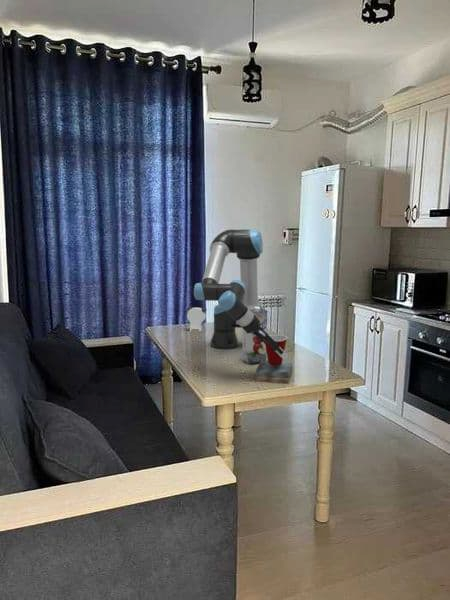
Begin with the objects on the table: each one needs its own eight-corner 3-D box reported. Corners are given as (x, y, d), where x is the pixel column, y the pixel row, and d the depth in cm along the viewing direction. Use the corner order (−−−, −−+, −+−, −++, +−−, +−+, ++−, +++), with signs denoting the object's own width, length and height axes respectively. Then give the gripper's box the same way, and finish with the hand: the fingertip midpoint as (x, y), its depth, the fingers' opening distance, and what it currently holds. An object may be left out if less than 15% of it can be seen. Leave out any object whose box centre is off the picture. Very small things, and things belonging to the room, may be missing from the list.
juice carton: (240, 360, 225) (241, 305, 220) (259, 358, 229) (260, 304, 225) (248, 365, 217) (249, 308, 212) (268, 362, 221) (269, 307, 216)
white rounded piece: (208, 329, 291) (208, 306, 289) (203, 333, 280) (203, 309, 278) (190, 328, 294) (189, 305, 291) (184, 332, 283) (184, 308, 280)
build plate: (254, 380, 195) (254, 371, 194) (262, 367, 214) (262, 358, 213) (288, 383, 191) (288, 374, 191) (292, 369, 211) (292, 361, 210)
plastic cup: (260, 360, 207) (260, 334, 205) (284, 360, 208) (284, 333, 206) (264, 367, 196) (264, 340, 194) (289, 367, 197) (290, 339, 195)
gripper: (233, 322, 205) (266, 354, 212) (250, 333, 184) (286, 368, 191) (245, 310, 206) (277, 342, 213) (263, 319, 185) (298, 354, 192)
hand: (281, 354), depth 202 cm, fingers closed on plastic cup, 9 cm apart
